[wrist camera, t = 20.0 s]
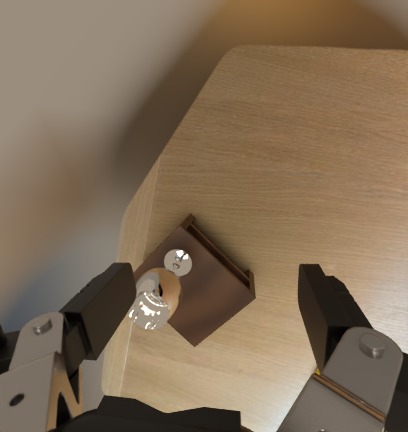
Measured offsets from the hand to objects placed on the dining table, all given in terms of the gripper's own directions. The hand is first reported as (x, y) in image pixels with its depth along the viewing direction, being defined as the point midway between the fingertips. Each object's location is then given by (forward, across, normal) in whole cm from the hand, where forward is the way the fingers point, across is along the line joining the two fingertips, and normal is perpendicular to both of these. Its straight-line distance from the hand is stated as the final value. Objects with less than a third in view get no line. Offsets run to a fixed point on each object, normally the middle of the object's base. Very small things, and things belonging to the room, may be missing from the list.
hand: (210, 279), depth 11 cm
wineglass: (+21, +9, +12) cm, 26 cm away
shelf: (+29, +8, +17) cm, 34 cm away
